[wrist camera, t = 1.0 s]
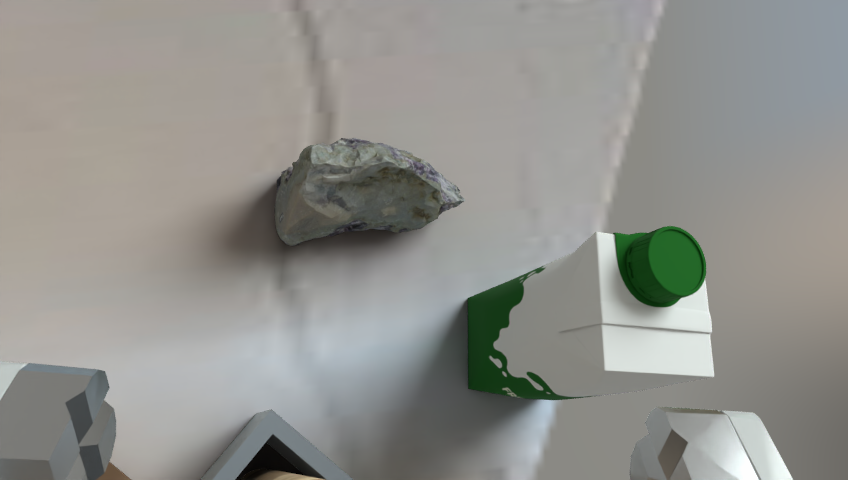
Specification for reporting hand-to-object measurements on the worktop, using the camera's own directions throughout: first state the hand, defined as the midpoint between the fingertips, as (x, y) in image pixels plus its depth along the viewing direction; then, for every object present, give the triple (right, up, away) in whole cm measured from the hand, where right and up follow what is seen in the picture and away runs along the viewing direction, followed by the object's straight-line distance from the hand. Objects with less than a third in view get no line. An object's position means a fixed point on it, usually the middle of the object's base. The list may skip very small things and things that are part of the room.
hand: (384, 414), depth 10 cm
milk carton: (+7, -6, +45) cm, 46 cm away
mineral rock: (-5, +5, +43) cm, 44 cm away
